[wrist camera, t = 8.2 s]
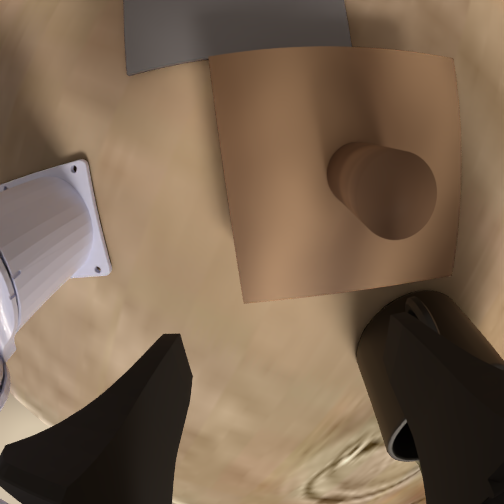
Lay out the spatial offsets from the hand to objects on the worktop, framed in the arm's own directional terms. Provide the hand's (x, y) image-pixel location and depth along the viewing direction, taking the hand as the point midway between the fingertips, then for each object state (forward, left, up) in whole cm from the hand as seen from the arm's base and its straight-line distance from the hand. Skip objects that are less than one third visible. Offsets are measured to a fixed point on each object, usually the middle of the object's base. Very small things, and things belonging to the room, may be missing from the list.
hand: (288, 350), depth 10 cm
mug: (+10, -8, -10) cm, 16 cm away
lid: (+4, +5, -6) cm, 9 cm away
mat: (-1, +18, -10) cm, 21 cm away
